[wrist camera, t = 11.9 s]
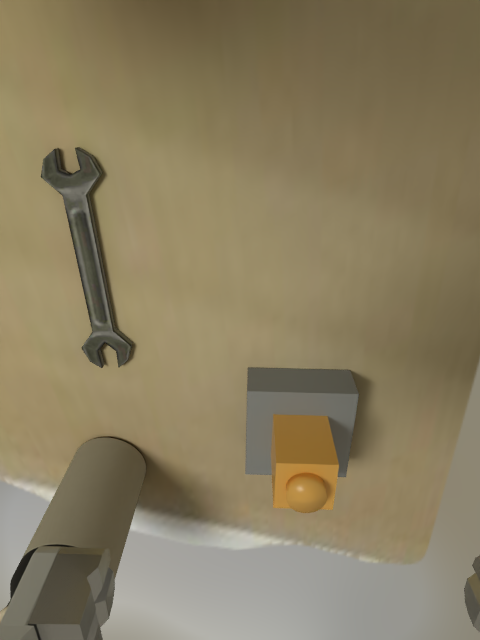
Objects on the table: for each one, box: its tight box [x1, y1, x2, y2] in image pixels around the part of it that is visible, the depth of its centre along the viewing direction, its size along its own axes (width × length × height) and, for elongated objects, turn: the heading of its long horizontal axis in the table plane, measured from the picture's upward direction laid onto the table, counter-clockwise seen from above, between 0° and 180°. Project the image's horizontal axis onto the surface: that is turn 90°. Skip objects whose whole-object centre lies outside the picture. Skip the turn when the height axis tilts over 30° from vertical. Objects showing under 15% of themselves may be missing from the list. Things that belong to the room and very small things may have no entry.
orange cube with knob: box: [271, 414, 339, 513], centre depth 39 cm, size 5×5×7 cm
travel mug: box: [0, 438, 146, 622], centre depth 41 cm, size 8×8×18 cm
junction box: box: [245, 368, 359, 477], centre depth 42 cm, size 10×10×8 cm
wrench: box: [41, 147, 133, 368], centre depth 39 cm, size 5×2×20 cm
